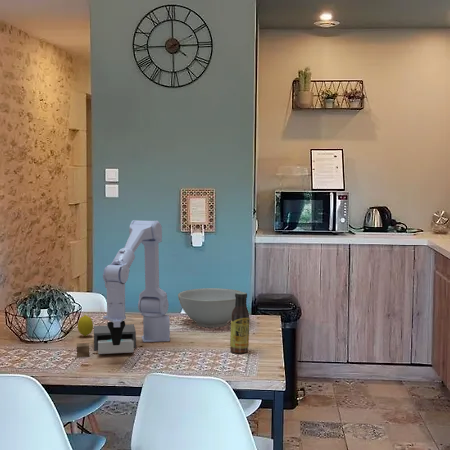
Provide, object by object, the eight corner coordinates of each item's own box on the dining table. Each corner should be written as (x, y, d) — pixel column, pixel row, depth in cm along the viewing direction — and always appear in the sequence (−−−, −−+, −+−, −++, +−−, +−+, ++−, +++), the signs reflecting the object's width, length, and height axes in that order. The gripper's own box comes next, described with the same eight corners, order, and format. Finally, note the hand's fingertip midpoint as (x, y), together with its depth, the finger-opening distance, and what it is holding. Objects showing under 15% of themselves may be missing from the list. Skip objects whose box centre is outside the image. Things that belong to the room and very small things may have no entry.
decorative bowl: (164, 323, 258) (164, 293, 257) (214, 313, 276) (214, 285, 275) (208, 336, 238) (208, 303, 238) (259, 324, 256) (259, 294, 255)
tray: (131, 344, 221) (131, 333, 221) (133, 352, 212) (133, 341, 212) (97, 346, 219) (97, 335, 219) (98, 353, 210) (98, 342, 209)
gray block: (133, 340, 231) (133, 324, 231) (135, 348, 221) (135, 331, 220) (93, 342, 229) (93, 325, 228) (94, 350, 218) (93, 333, 217)
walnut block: (89, 353, 215) (89, 342, 214) (89, 356, 211) (89, 346, 210) (77, 353, 214) (76, 343, 214) (76, 357, 210) (76, 346, 210)
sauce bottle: (235, 354, 213) (235, 295, 212) (226, 350, 219) (226, 292, 217) (252, 352, 216) (253, 293, 215) (243, 348, 222) (244, 290, 220)
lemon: (89, 338, 234) (89, 316, 233) (75, 338, 235) (74, 316, 234) (95, 335, 239) (95, 313, 238) (81, 334, 240) (81, 313, 239)
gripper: (102, 298, 211) (103, 339, 212) (103, 307, 197) (103, 351, 198) (124, 297, 212) (124, 338, 213) (126, 306, 198) (127, 350, 199)
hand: (116, 344), depth 206 cm, fingers closed
